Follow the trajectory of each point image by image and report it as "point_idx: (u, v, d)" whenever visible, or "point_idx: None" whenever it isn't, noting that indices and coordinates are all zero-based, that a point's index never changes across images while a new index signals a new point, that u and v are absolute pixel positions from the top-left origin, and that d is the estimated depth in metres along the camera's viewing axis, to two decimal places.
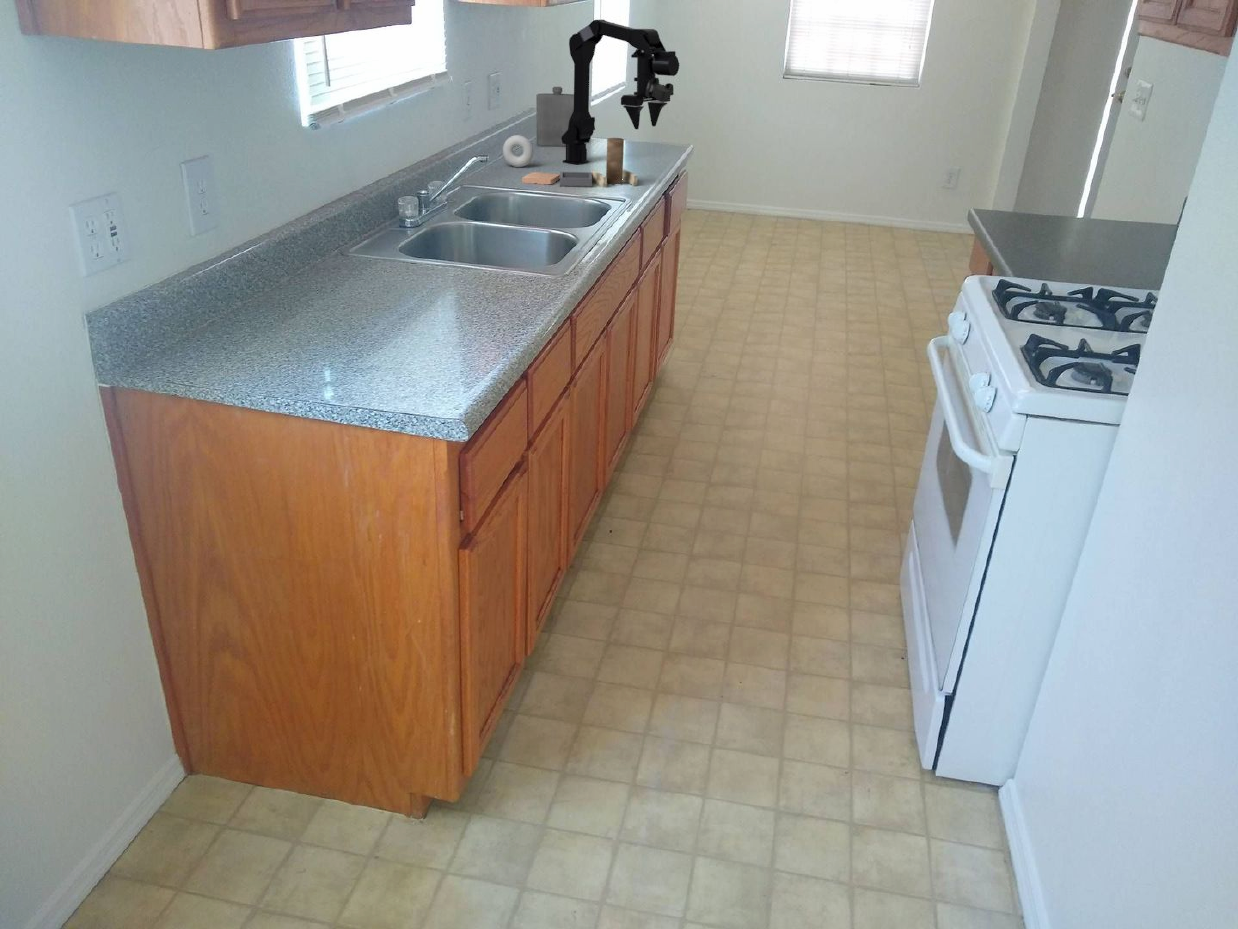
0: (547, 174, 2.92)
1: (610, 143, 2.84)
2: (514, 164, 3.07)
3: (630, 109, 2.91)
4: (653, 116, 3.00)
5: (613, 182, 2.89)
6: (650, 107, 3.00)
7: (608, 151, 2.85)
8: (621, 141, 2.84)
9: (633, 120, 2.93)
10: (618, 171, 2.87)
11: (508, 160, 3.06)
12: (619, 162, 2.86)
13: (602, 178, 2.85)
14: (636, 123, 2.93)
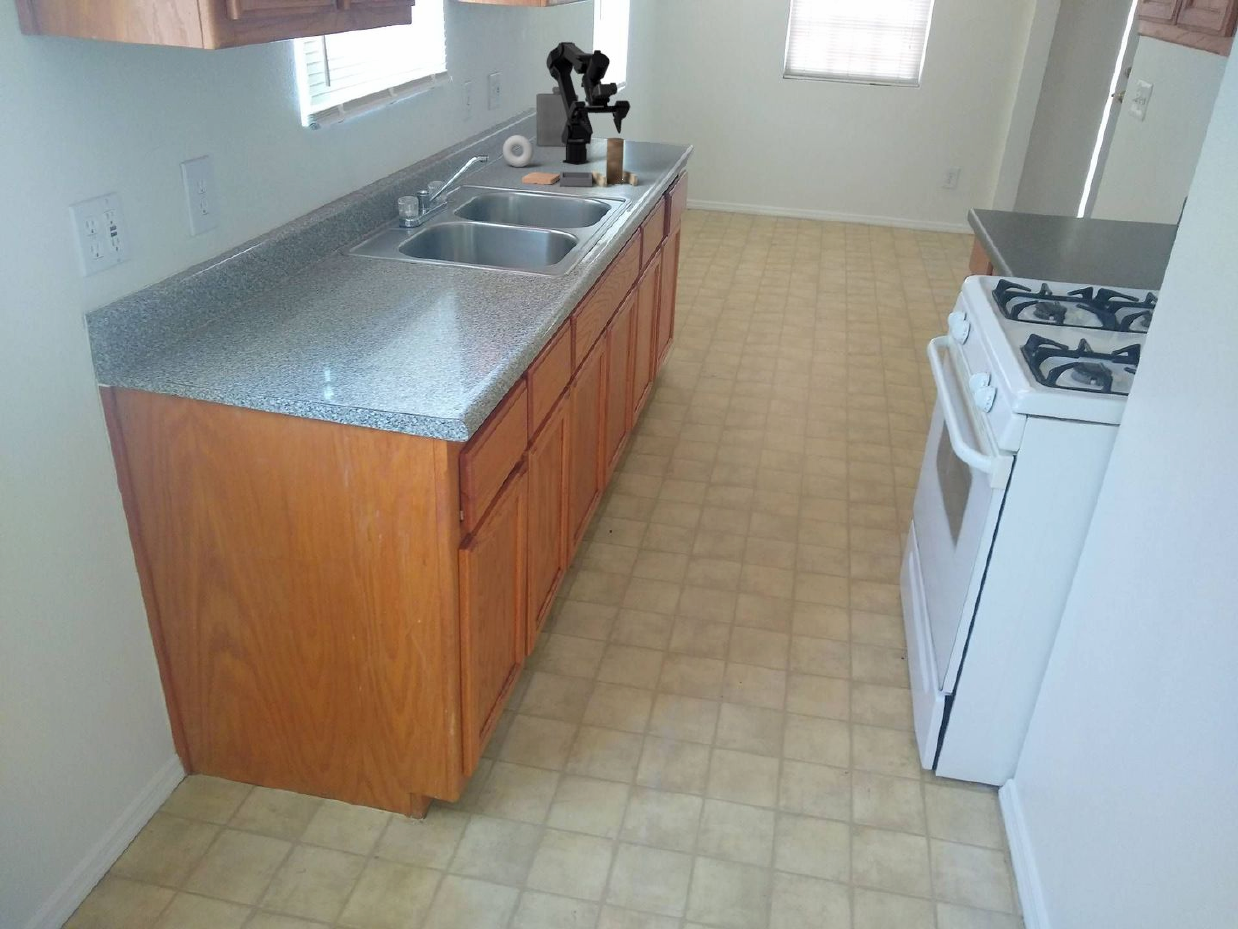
0: (547, 174, 2.92)
1: (610, 143, 2.84)
2: (514, 164, 3.07)
3: (581, 120, 2.92)
4: (617, 125, 2.94)
5: (613, 182, 2.89)
6: (614, 121, 2.96)
7: (608, 151, 2.85)
8: (621, 141, 2.84)
9: (586, 127, 2.91)
10: (618, 171, 2.87)
11: (508, 160, 3.06)
12: (619, 162, 2.86)
13: (602, 178, 2.85)
14: (588, 127, 2.90)
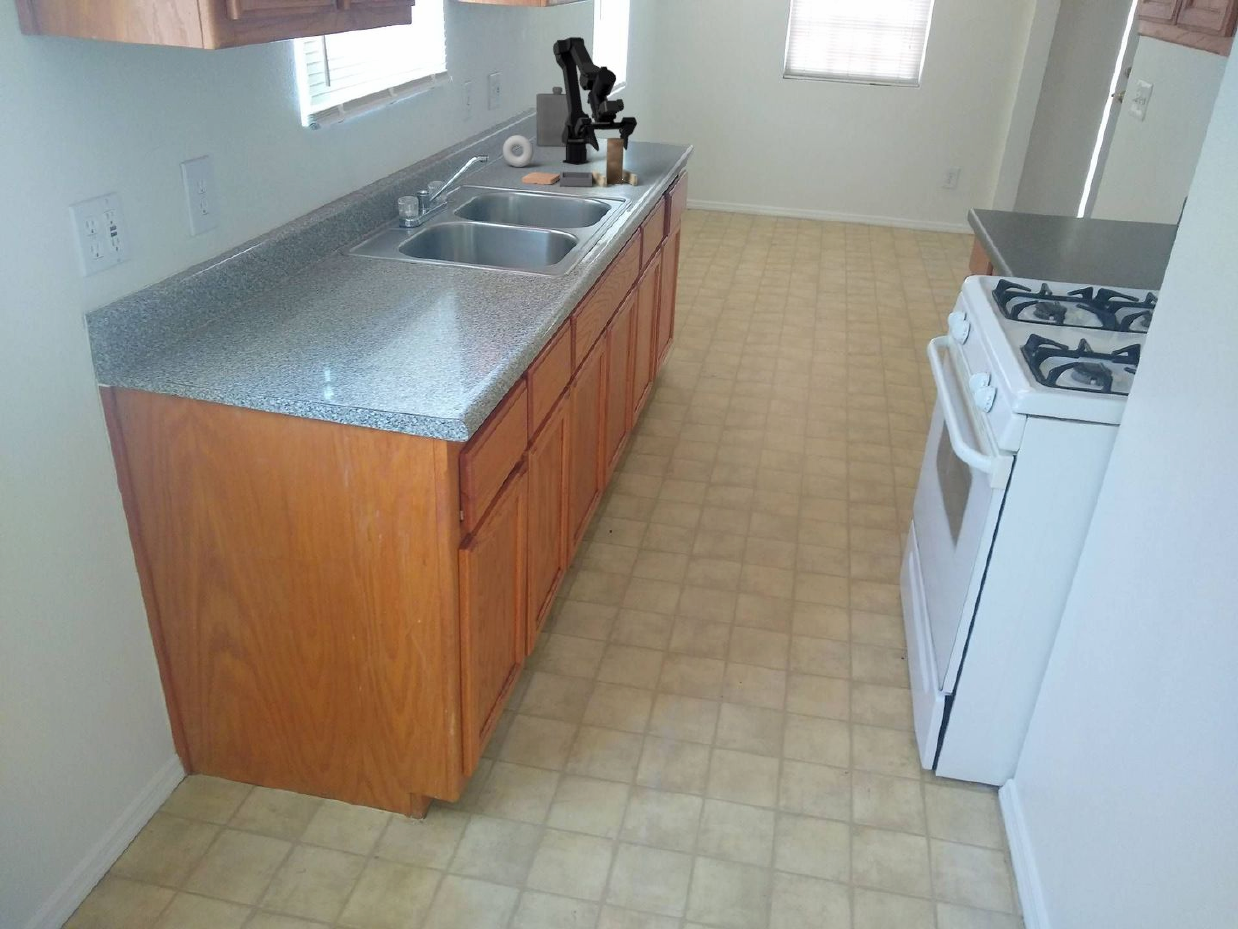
0: (547, 174, 2.92)
1: (610, 143, 2.84)
2: (514, 164, 3.07)
3: (587, 136, 2.89)
4: None
5: (613, 182, 2.89)
6: (621, 137, 2.93)
7: (608, 151, 2.85)
8: (621, 141, 2.84)
9: (593, 144, 2.88)
10: (618, 171, 2.87)
11: (508, 160, 3.06)
12: (619, 162, 2.86)
13: (602, 178, 2.85)
14: (595, 144, 2.87)
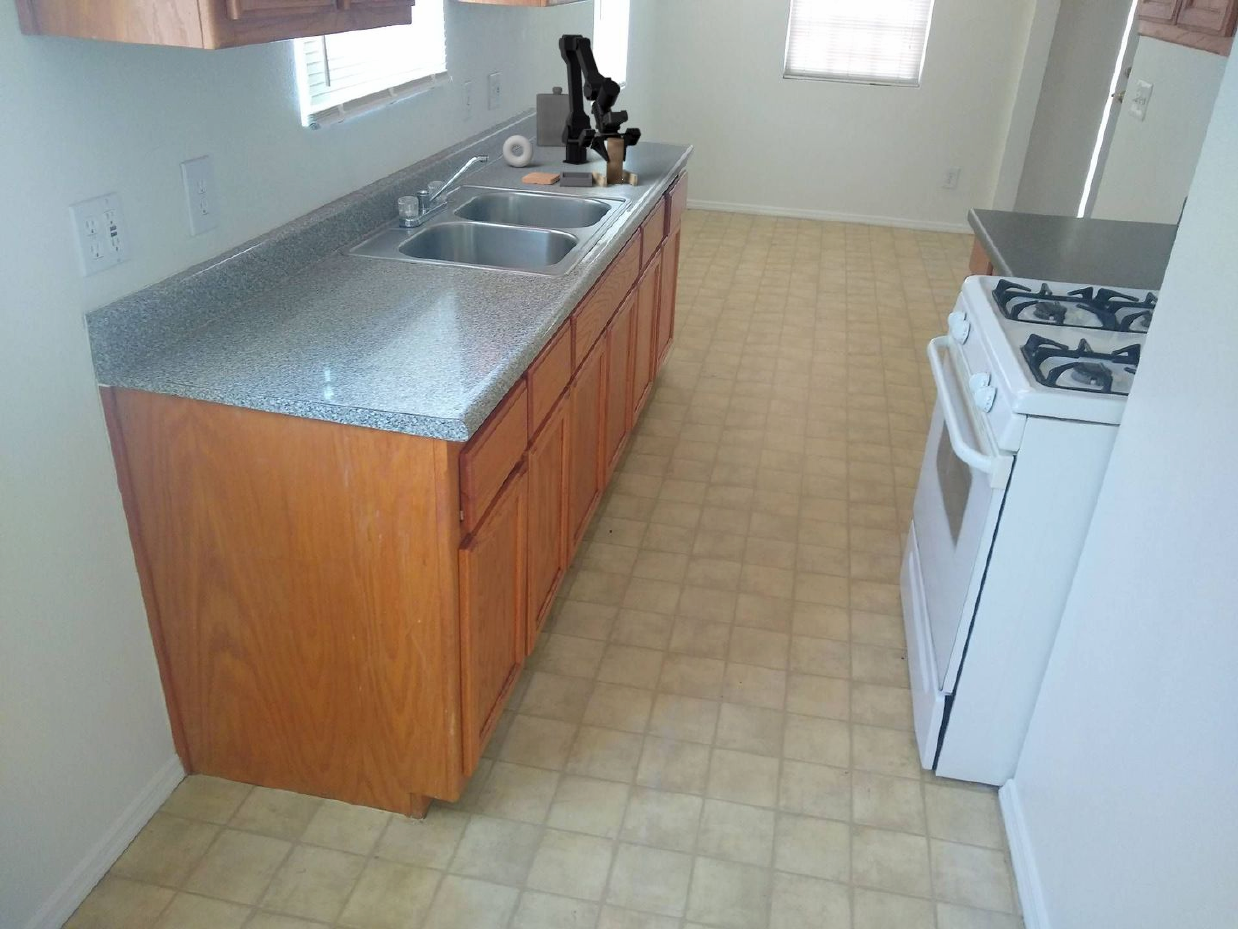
0: (547, 174, 2.92)
1: (610, 143, 2.84)
2: (514, 164, 3.07)
3: (597, 147, 2.88)
4: None
5: (613, 182, 2.89)
6: None
7: (608, 151, 2.85)
8: (621, 141, 2.84)
9: (602, 155, 2.87)
10: (618, 171, 2.87)
11: (508, 160, 3.06)
12: (619, 162, 2.86)
13: (602, 178, 2.85)
14: (605, 155, 2.86)
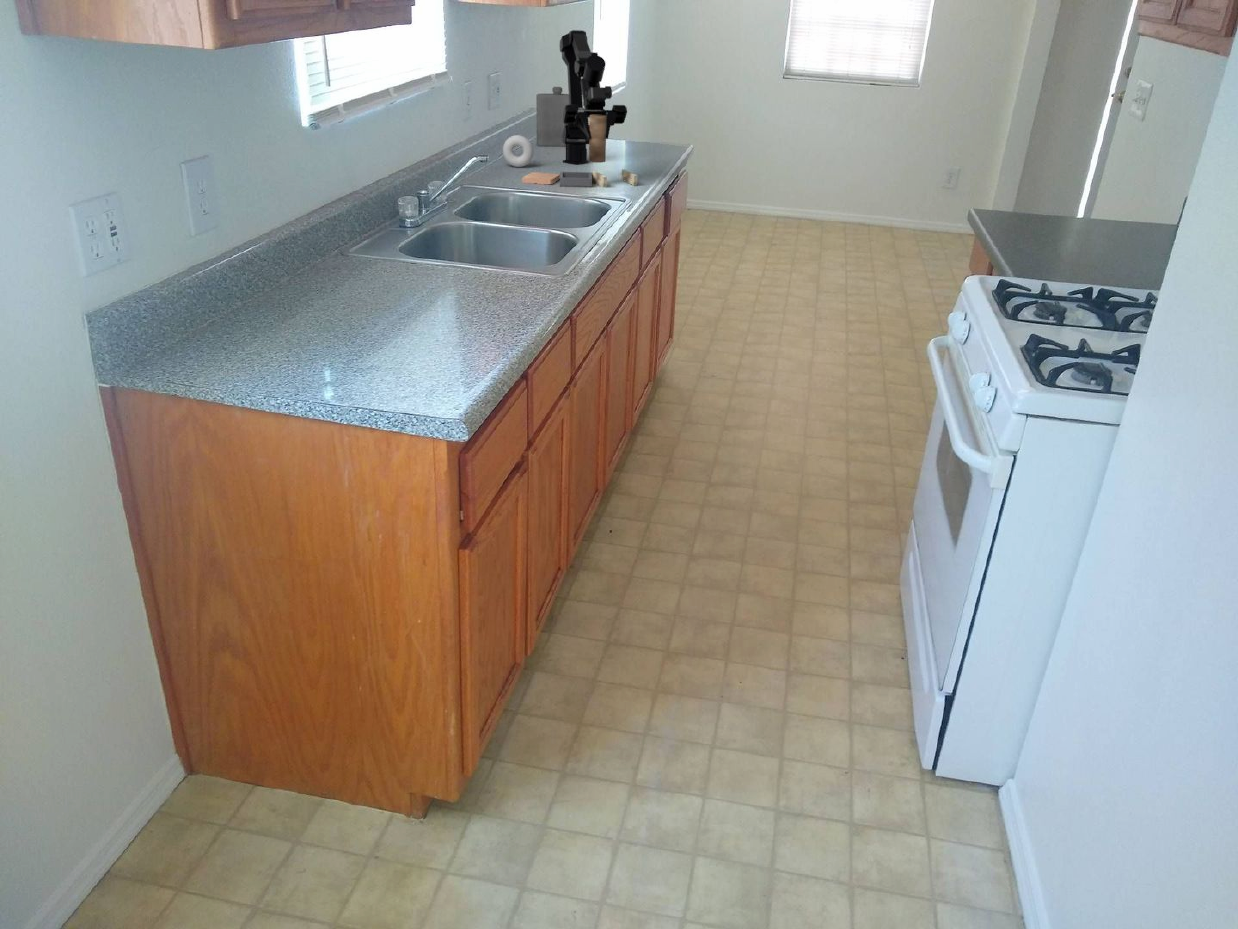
0: (547, 174, 2.92)
1: (591, 119, 2.79)
2: (514, 164, 3.07)
3: (581, 124, 2.84)
4: None
5: (595, 159, 2.84)
6: None
7: (590, 128, 2.81)
8: (603, 117, 2.79)
9: (585, 132, 2.83)
10: (599, 148, 2.83)
11: (508, 160, 3.06)
12: (600, 139, 2.82)
13: (602, 178, 2.85)
14: (586, 132, 2.82)
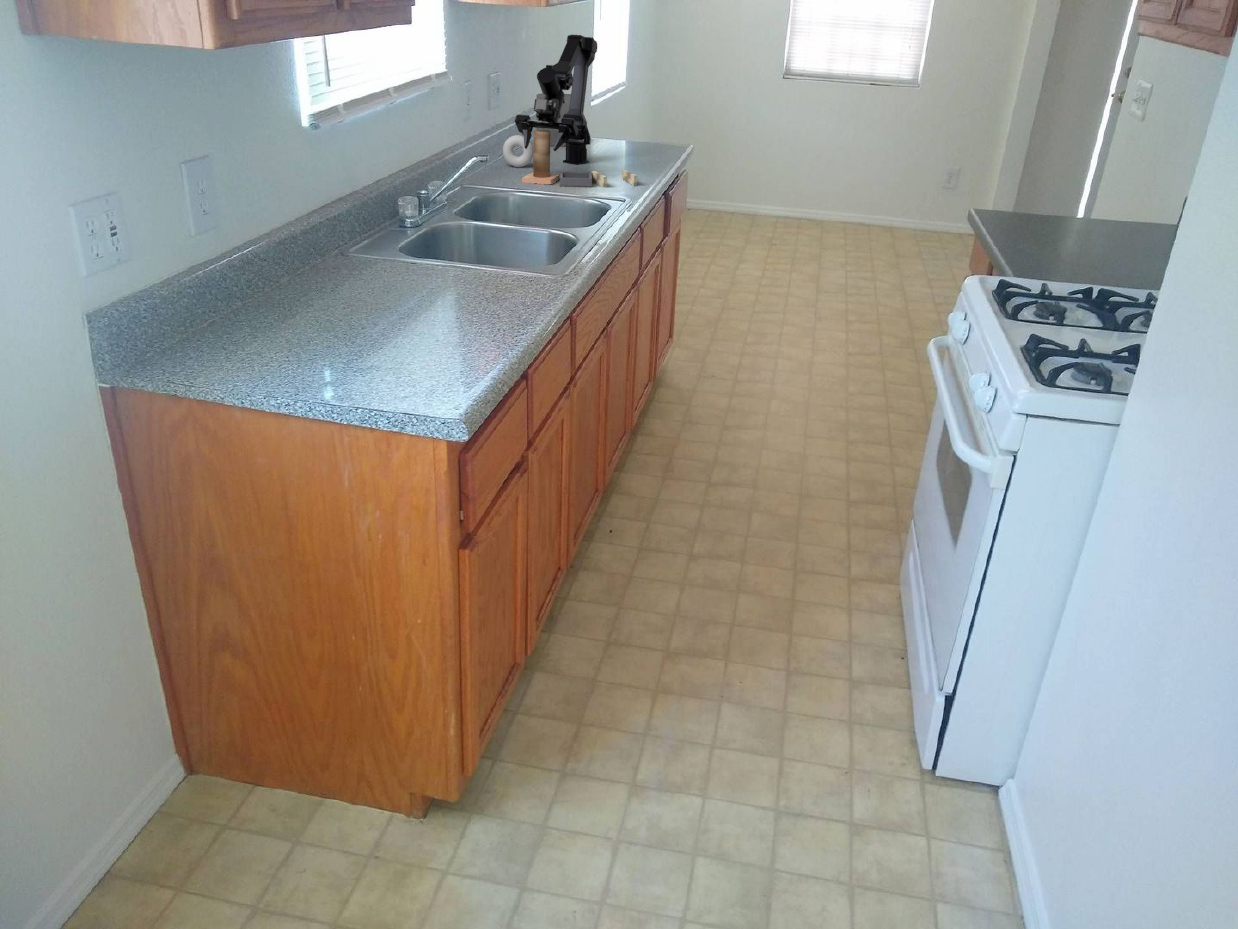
0: None
1: None
2: (514, 164, 3.07)
3: None
4: None
5: (535, 174, 2.88)
6: None
7: None
8: (542, 133, 2.82)
9: None
10: (539, 163, 2.86)
11: (508, 160, 3.06)
12: (540, 154, 2.85)
13: (602, 178, 2.85)
14: None
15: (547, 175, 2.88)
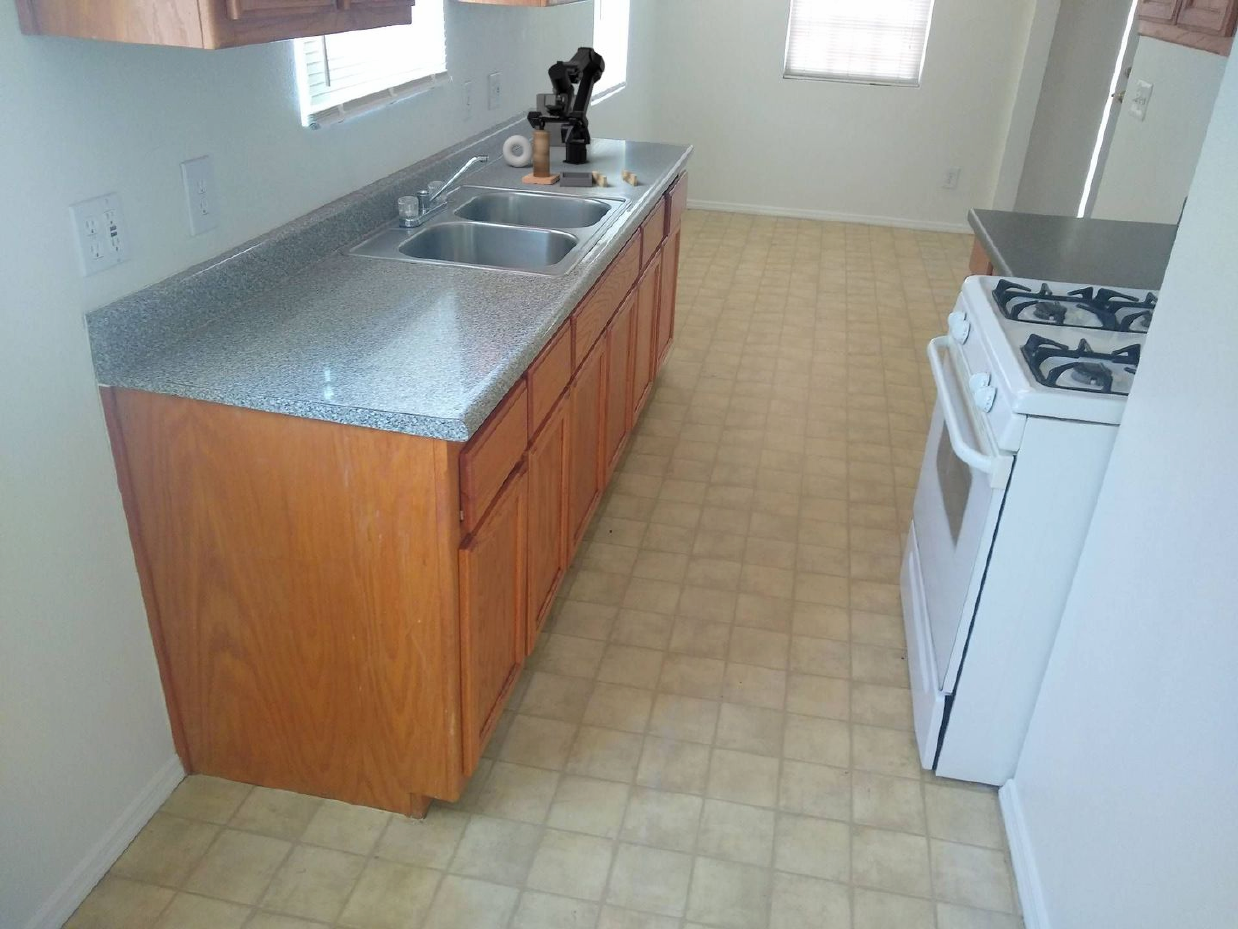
0: None
1: None
2: (514, 164, 3.07)
3: None
4: None
5: (535, 174, 2.88)
6: None
7: (533, 143, 2.86)
8: (541, 133, 2.82)
9: None
10: (539, 163, 2.86)
11: (508, 160, 3.06)
12: (540, 154, 2.85)
13: (602, 178, 2.85)
14: None
15: (547, 175, 2.88)
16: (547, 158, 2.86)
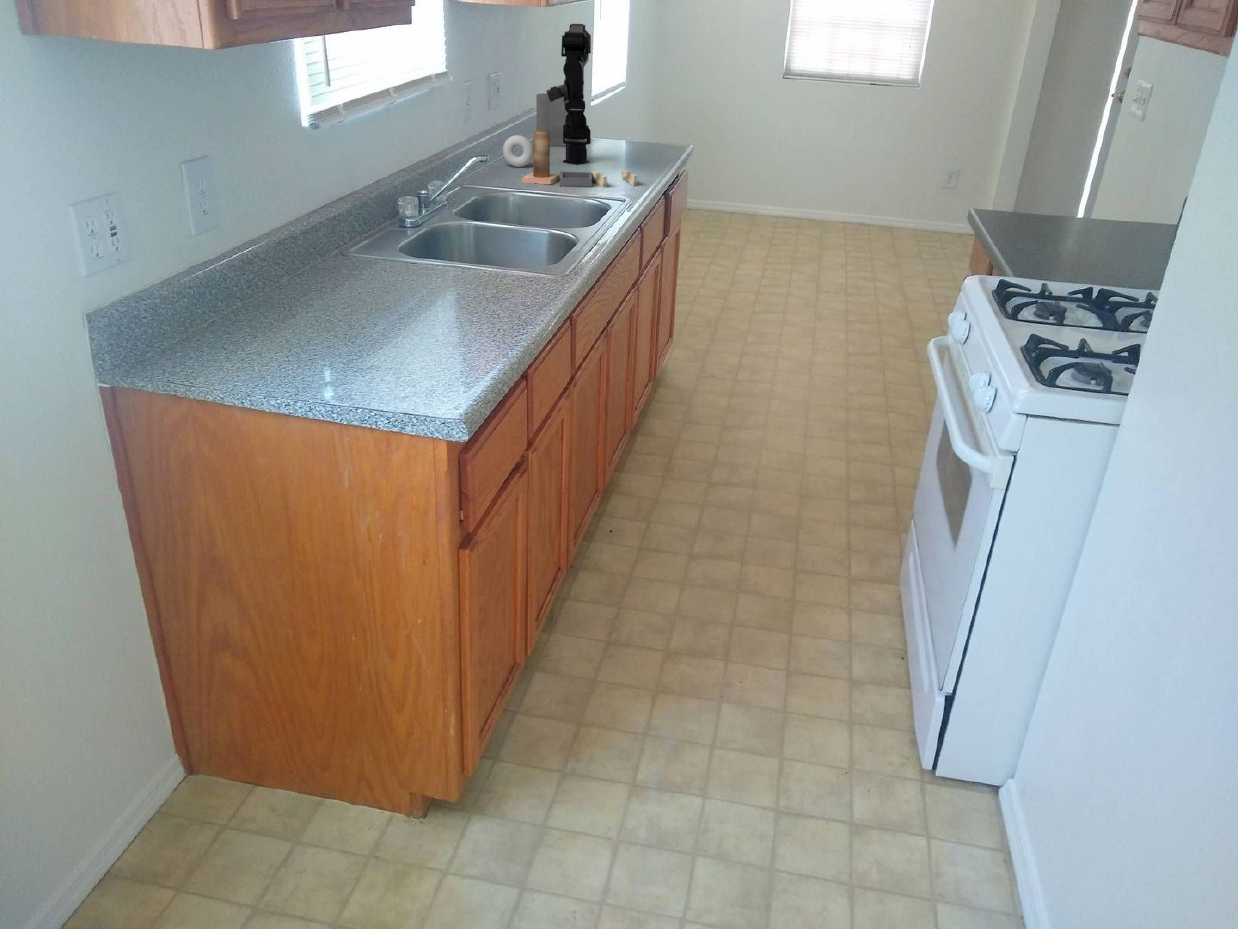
0: None
1: (533, 134, 2.84)
2: (514, 164, 3.07)
3: None
4: None
5: (535, 174, 2.88)
6: None
7: (533, 143, 2.86)
8: (541, 133, 2.82)
9: None
10: (539, 163, 2.86)
11: (508, 160, 3.06)
12: (540, 154, 2.85)
13: (602, 178, 2.85)
14: None
15: (547, 175, 2.88)
16: (547, 158, 2.86)
